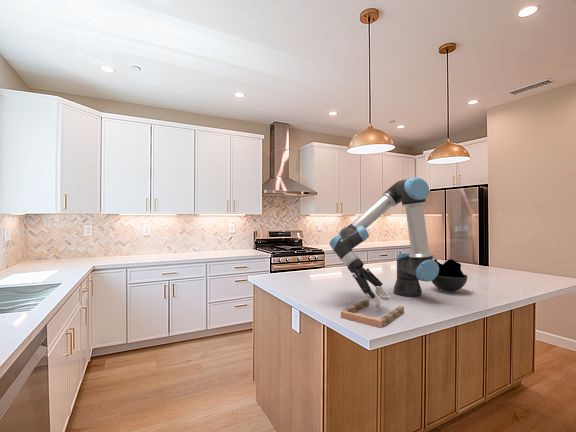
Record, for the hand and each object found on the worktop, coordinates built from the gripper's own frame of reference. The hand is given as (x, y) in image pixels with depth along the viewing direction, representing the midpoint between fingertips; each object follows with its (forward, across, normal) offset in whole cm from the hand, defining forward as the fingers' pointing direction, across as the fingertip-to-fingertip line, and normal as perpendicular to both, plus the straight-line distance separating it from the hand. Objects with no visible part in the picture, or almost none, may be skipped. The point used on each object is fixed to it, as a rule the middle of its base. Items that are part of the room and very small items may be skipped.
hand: (384, 301), depth 134 cm
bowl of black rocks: (+13, -64, +5) cm, 65 cm away
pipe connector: (+1, 0, -5) cm, 5 cm away
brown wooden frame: (+2, +5, -6) cm, 8 cm away
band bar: (+2, +17, -6) cm, 18 cm away
